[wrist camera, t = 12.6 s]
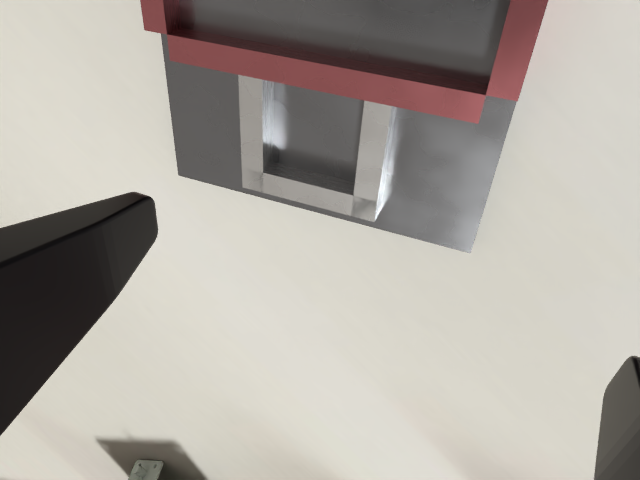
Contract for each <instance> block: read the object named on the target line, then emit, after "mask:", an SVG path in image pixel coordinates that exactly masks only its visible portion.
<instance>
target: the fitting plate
mask: <svg viewBox="0 0 640 480" xmlns="http://www.w3.org/2000/svg"><path fill="white" fill-rule="evenodd" d="M140 1H141V8H142V16H143V23H144V30H146V31H152V32H157V33H161V38H162V46H163V54H164V62H165V70H166V78H167V86H168V94H169V102H170V111H171V119H172V127H173V135H174V143H175V151H176V159H177V167H178V175H179V176H183V177H187V178H190V179H194V180H198V181H202V182H205V183H209V184H213V185H216V186H220V187H224V188H228V189H231V190H235V191H239V192H243V193H246V194H250V195H254V196H258V197H261V198H265V199H269V200H273V201H276V202H280V203H284V204H288V205H291V206H295V207H299V208H303V209H306V210H310V211H314V212H317V213H321V214H325V215H329V216H332V217H336V218H340V219H344V220H347V221H351V222H355V223H359V224H362V225H366V226H370V227H374V228H377V229H381V230H385V231H389V232H392V233H396V234H400V235H404V236H407V237H411V238H415V239H418V240H422V241H426V242H430V243H433V244H437V245H441V246H445V247H448V248H452V249H456V250H460V251H463V252H467V253H471V250H472V247H473V243H474V240H475V237H476V234H477V230H478V227H479V224H480V220H481V217H482V214H483V210H484V207H485V204H486V200H487V197H488V194H489V191H490V187H491V184H492V181H493V177H494V174H495V171H496V167H497V164H498V161H499V158H500V154H501V151H502V148H503V144H504V141H505V138H506V134H507V131H508V128H509V124H510V121H511V118H512V115H513V111H514V108H515V105H516V101H518V98H519V95H520V92H521V88H522V85H523V82H524V78H525V75H526V72H527V68H528V65H529V62H530V59H531V55H532V52H533V49H534V45H535V42H536V39H537V36H538V32H539V29H540V26H541V22H542V19H543V16H544V12H545V9H546V6H547V3H548V0H140Z"/></svg>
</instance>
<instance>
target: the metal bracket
mask: <svg viewBox="0 0 640 480" xmlns="http://www.w3.org/2000/svg"><path fill="white" fill-rule="evenodd" d="M140 465H141V466H140ZM156 465H157V466H156ZM155 466H156V468H155ZM162 467H163V462H162V461H153V460H137V461H136V462H135V465H134V467H133V469H132V472H131V474H130V476H129V479H128V480H158V477H159V474H160V472H161V469H162Z"/></svg>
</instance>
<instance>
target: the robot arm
mask: <svg viewBox="0 0 640 480" xmlns="http://www.w3.org/2000/svg"><path fill="white" fill-rule="evenodd" d="M157 234H158V225H157V217H156V209H155V203H154V200H153V199H152V198H151V197H149V196H147V195H143V194H140V193H137V192H130V193H126V194H123V195H119V196H115V197H112V198H108V199H105V200H101V201H97V202H94V203H90V204H86V205H83V206H79V207H75V208H72V209H68V210H65V211H61V212H57V213H54V214H50V215H46V216H43V217H39V218H35V219H32V220H28V221H25V222H21V223H17V224H14V225H10V226H6V227H3V228H0V436H1V434H2V433H3V432H4V431H5V430H6V428H7V427H8V426H9V425H10V424H11V423H12V421H13V420H14V419H15V418H16V417H17V415H18V414H19V413H20V412H21V411H22V410H23V408H24V407H25V406H26V405H27V404H28V402H29V401H30V400H31V399H32V398H33V396H34V395H35V394H36V393H37V392H38V391H39V389H40V388H41V387H42V386H43V385H44V383H45V382H46V381H47V380H48V379H49V377H50V376H51V375H52V374H53V373H54V372H55V370H56V369H57V368H58V367H59V366H60V364H61V363H62V362H63V361H64V360H65V358H66V357H67V356H68V355H69V354H70V353H71V351H72V350H73V349H74V348H75V347H76V345H77V344H78V343H79V342H80V341H81V340H82V338H83V337H84V336H85V335H86V334H87V332H88V331H89V330H90V329H91V328H92V326H93V325H94V324H95V323H96V322H97V321H98V319H99V318H100V317H101V316H102V315H103V313H104V312H105V311H106V310H107V309H108V307H109V306H110V305H111V304H112V303H113V301H114V300H115V299H116V297H117V296H118V295H119V293H120V292H121V291H122V289H123V288H124V286H125V285H126V283H127V282H128V280H129V279H130V277H131V276H132V274H133V273H134V271H135V270H136V268H137V267H138V266H139V264H140V263H141V261H142V260H143V258H144V257H145V255H146V254H147V252H148V251H149V249H150V248H151V246H152V245H153V243H154V242H155V240H156V237H157ZM594 480H640V357H637V356H631V357H629V358H628V359H627V360H626V361H625V362H624V363H623V365H622V366H621V368H620V369H619V370H618V372H617V373H616V374H615V376H614V377H613V379H612V380H611V381H610V383H609V384H608V386H607V388H606V390H605V393H604V397H603V405H602V414H601V422H600V431H599V439H598V448H597V456H596V465H595V475H594Z"/></svg>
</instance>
